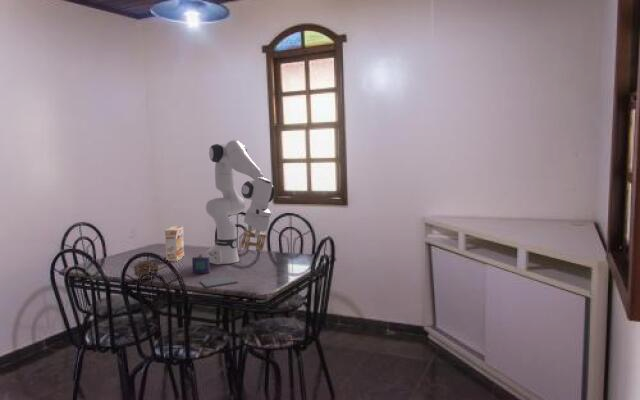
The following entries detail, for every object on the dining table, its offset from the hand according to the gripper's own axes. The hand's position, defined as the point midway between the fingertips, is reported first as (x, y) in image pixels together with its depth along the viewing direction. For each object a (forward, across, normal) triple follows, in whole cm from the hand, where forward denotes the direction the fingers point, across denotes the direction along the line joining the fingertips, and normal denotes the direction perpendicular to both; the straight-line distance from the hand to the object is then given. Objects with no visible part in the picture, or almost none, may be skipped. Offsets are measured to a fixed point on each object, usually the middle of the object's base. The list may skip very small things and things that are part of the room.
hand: (252, 235), depth 237 cm
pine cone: (+36, -34, -34) cm, 60 cm away
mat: (+27, -5, -11) cm, 29 cm away
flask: (+30, -28, -11) cm, 42 cm away
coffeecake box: (+35, -70, -12) cm, 79 cm away
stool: (+3, 0, +6) cm, 7 cm away
